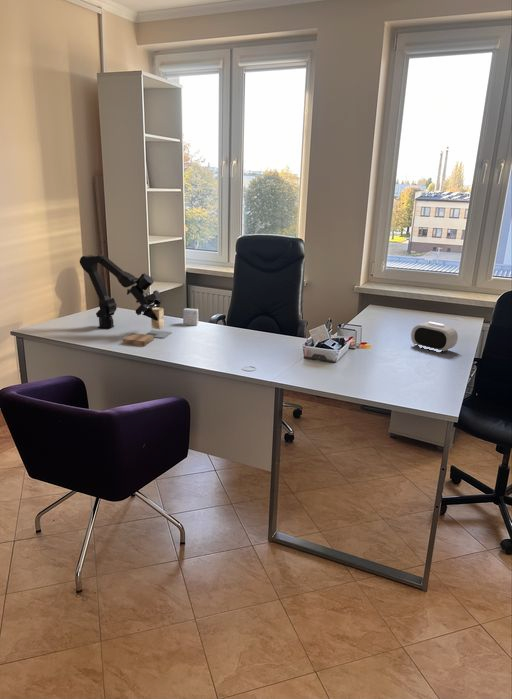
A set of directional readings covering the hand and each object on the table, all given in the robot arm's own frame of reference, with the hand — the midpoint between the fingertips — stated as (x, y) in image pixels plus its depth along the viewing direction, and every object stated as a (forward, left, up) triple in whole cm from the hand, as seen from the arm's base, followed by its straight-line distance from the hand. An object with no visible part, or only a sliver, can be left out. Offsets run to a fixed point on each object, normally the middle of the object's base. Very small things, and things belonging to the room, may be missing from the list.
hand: (159, 319), depth 257 cm
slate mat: (-1, 0, -8) cm, 8 cm away
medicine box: (+8, +26, -9) cm, 29 cm away
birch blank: (-1, 0, -5) cm, 5 cm away
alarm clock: (+138, +24, -9) cm, 140 cm away
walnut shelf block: (-5, -15, -8) cm, 18 cm away
